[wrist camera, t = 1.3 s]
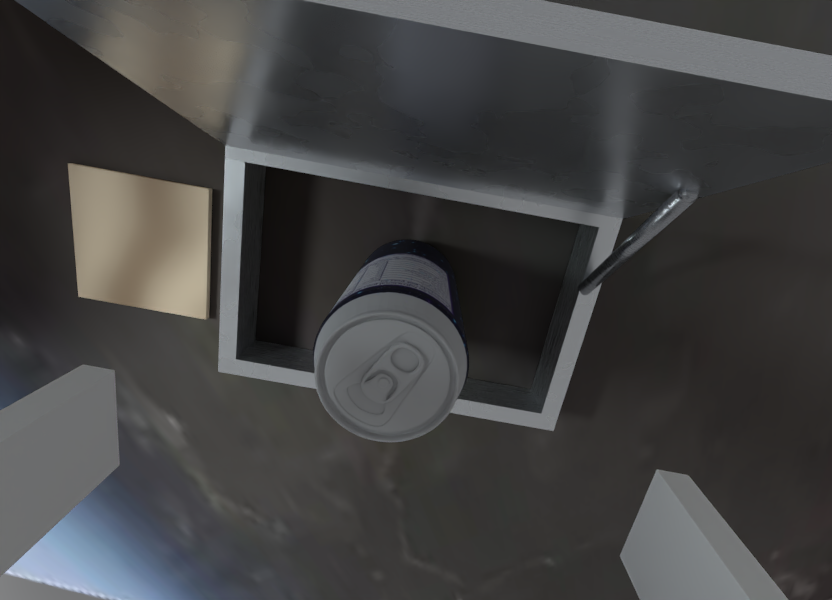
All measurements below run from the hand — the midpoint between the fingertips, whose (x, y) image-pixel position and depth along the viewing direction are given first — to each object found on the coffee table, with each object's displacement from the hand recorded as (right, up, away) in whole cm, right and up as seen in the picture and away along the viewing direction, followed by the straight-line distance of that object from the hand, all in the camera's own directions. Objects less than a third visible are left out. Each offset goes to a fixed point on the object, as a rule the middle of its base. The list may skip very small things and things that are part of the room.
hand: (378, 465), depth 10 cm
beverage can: (0, +5, +15) cm, 16 cm away
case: (+1, +7, +15) cm, 16 cm away
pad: (-15, +7, +15) cm, 23 cm away
